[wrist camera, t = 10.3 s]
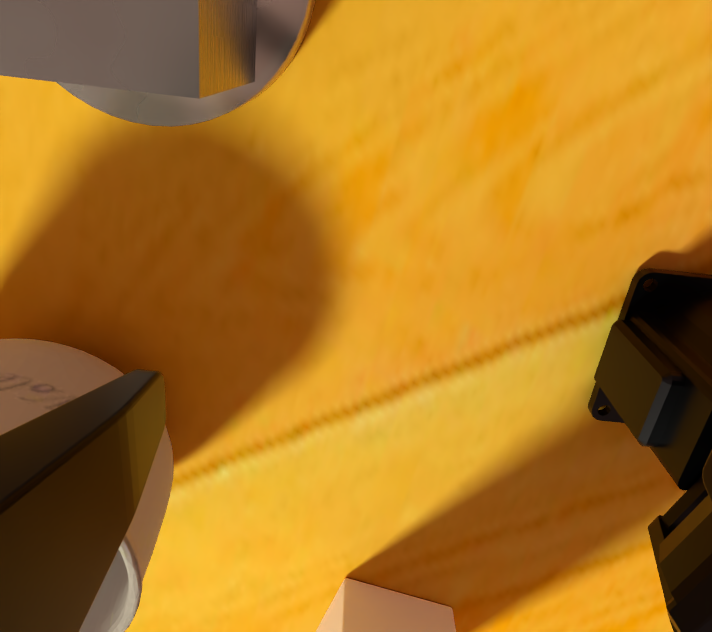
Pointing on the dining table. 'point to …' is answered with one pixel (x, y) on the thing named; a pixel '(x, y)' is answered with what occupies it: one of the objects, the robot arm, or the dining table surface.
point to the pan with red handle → (273, 54)
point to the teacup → (52, 389)
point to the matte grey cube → (132, 44)
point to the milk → (383, 611)
